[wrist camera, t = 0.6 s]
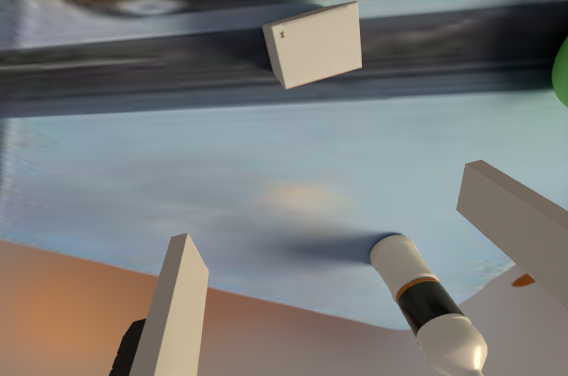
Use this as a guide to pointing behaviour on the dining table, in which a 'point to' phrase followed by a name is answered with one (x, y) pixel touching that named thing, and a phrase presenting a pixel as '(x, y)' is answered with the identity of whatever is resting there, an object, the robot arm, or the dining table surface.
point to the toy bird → (561, 73)
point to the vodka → (429, 309)
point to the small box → (314, 44)
